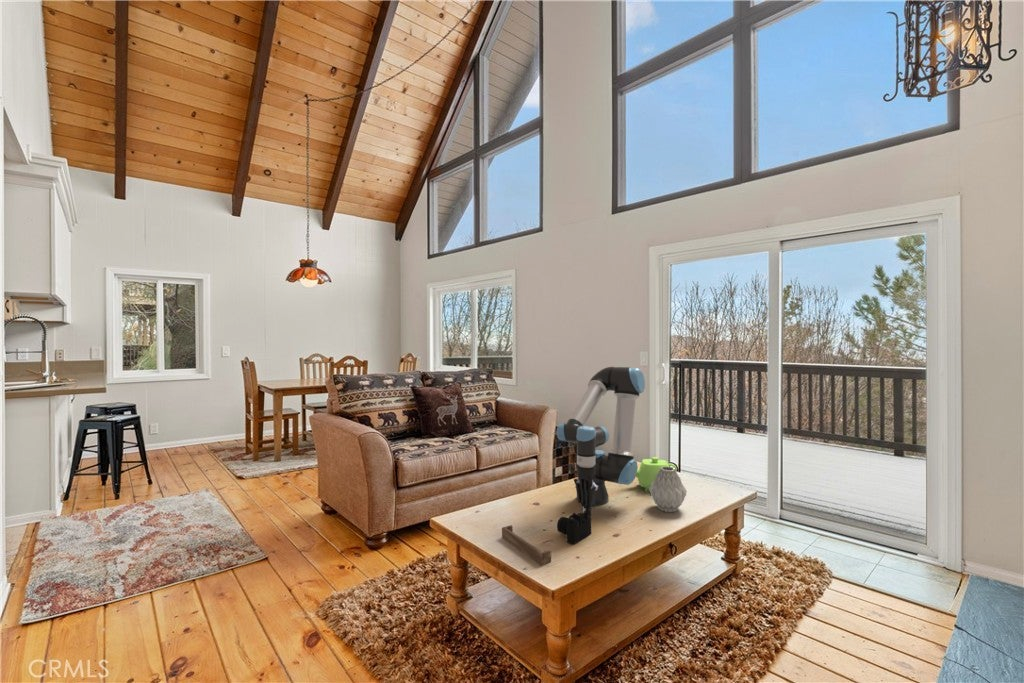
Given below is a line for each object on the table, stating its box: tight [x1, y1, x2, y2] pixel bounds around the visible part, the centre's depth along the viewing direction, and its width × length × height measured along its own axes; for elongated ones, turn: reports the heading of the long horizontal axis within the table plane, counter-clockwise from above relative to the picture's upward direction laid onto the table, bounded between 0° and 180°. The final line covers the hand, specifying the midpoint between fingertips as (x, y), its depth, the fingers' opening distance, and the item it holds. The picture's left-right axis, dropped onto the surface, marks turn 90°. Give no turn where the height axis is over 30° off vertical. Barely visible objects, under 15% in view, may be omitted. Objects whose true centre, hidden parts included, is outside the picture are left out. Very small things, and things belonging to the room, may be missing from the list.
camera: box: [556, 511, 592, 545], centre depth 186 cm, size 14×11×10 cm
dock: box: [501, 524, 552, 566], centre depth 175 cm, size 4×26×4 cm, turn 33°
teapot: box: [635, 456, 678, 492], centre depth 243 cm, size 25×22×16 cm
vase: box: [649, 466, 688, 513], centre depth 212 cm, size 16×16×18 cm
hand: (586, 522), depth 191 cm, fingers closed
